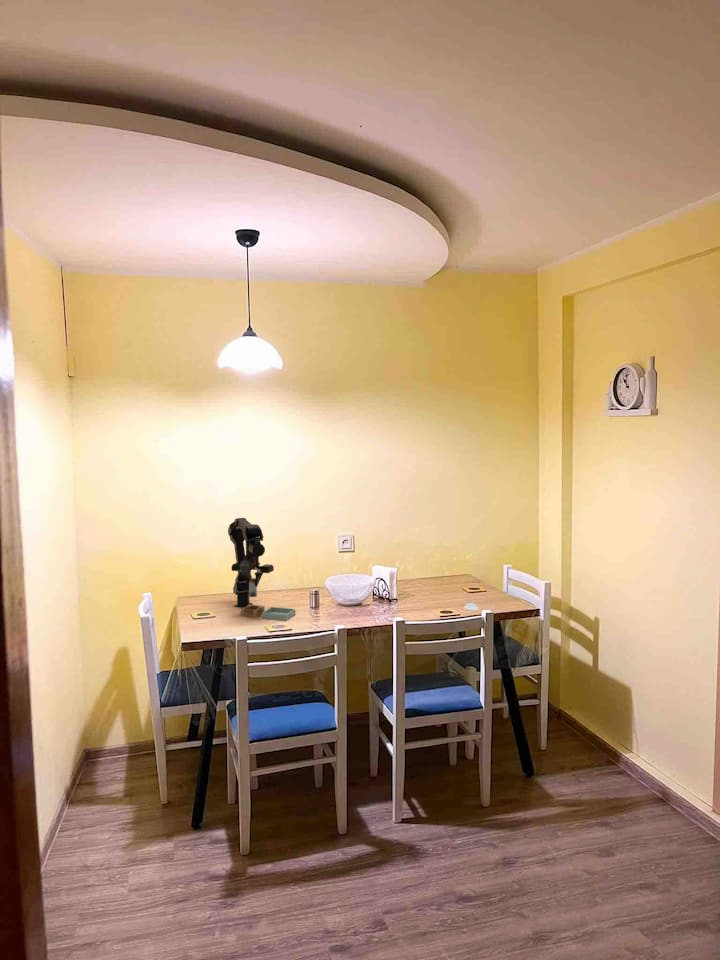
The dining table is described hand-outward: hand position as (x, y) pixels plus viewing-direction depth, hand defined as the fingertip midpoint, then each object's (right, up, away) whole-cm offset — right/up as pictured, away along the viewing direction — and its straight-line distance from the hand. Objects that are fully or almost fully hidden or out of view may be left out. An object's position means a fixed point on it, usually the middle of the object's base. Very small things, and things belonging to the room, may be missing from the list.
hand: (252, 586), depth 300 cm
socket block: (0, -13, +1) cm, 13 cm away
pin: (0, -5, 0) cm, 4 cm away
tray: (+12, -13, -3) cm, 18 cm away
